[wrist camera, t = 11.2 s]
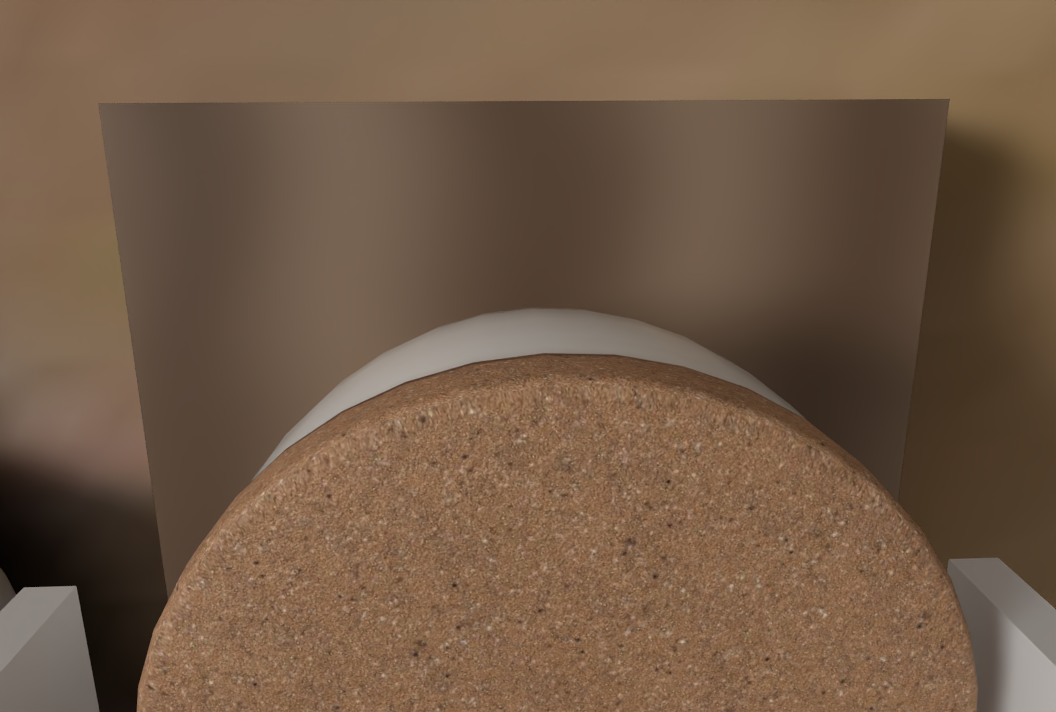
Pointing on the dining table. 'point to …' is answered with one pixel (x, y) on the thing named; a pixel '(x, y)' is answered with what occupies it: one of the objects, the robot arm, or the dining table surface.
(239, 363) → the walnut block
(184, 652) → the lidded jar
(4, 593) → the teacup
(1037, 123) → the dining table surface
